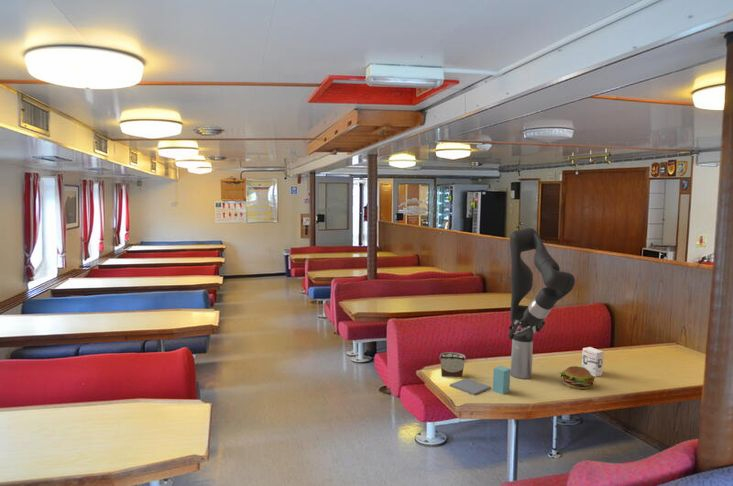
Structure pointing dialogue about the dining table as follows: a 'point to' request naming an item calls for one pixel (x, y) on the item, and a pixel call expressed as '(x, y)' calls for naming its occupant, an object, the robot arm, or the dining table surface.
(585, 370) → the food
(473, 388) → the grey mat
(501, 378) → the teal block
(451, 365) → the food container
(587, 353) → the ink box
